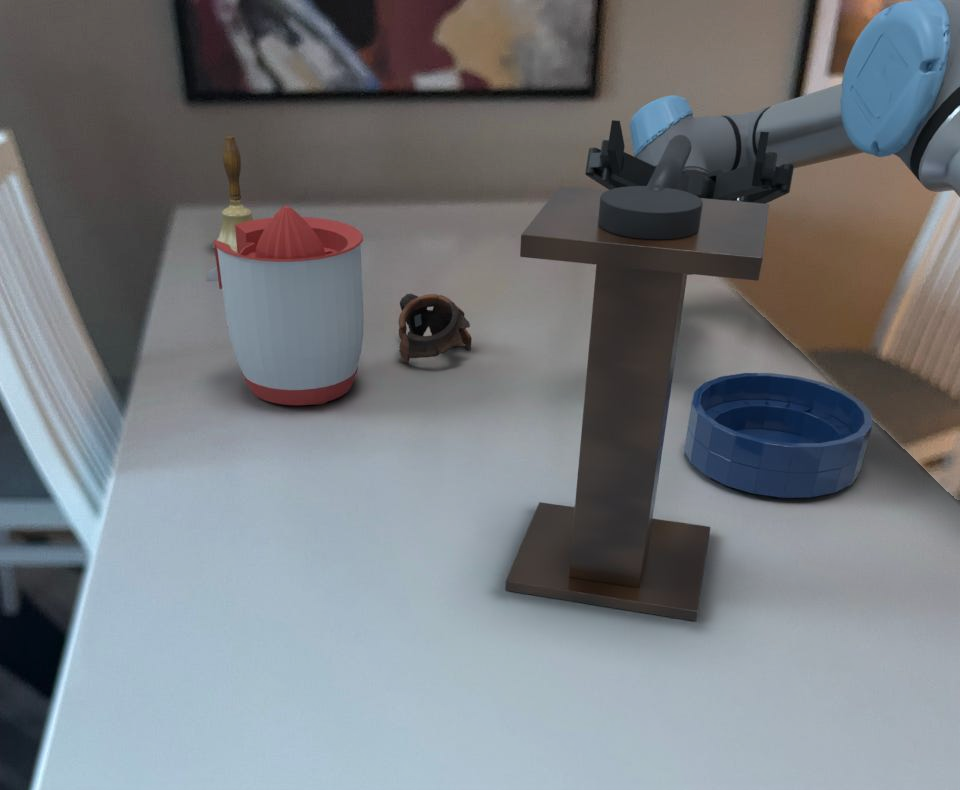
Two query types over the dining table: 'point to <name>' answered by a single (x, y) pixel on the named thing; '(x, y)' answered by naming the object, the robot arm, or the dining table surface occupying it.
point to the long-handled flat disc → (654, 202)
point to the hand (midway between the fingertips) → (686, 141)
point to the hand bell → (232, 195)
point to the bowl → (777, 434)
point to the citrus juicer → (294, 305)
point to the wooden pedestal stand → (628, 408)
